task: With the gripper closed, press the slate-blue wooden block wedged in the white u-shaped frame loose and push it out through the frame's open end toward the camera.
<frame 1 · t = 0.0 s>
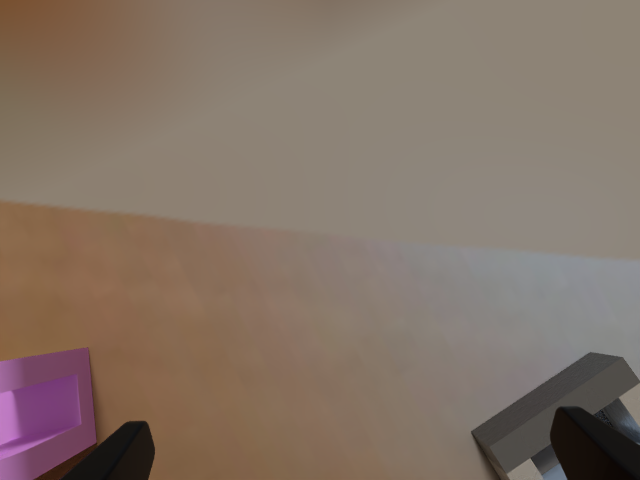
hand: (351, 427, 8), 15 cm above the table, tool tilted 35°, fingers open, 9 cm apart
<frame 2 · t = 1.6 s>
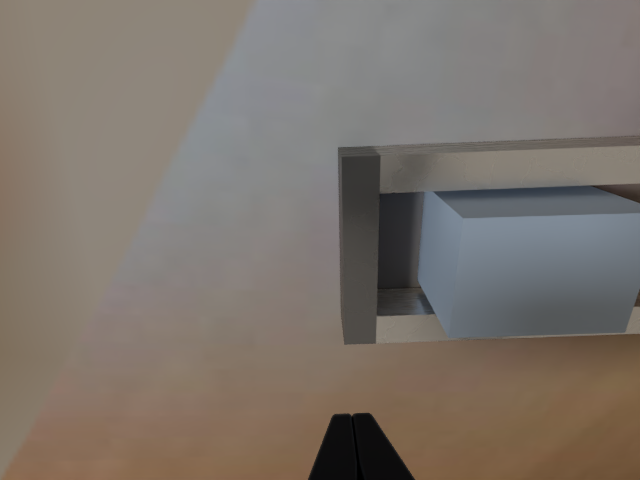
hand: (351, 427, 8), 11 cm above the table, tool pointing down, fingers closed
white u-shaped frame: (512, 232, 18), on the table
jammed block: (490, 231, 18), on the table
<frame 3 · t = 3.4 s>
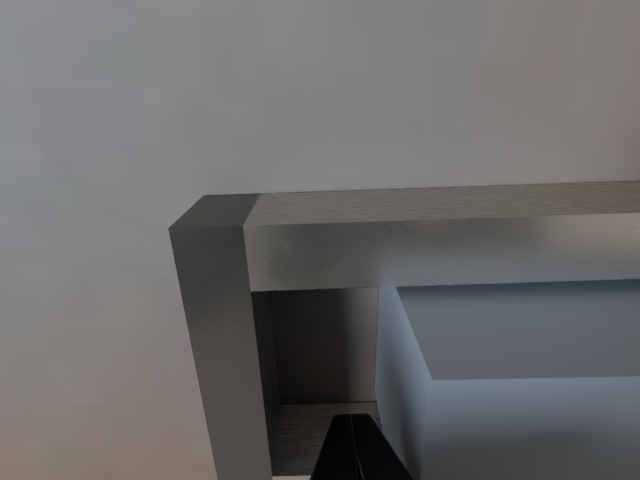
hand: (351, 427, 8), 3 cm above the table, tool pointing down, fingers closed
white u-shaped frame: (502, 325, 11), on the table
jammed block: (492, 324, 11), on the table, touching gripper
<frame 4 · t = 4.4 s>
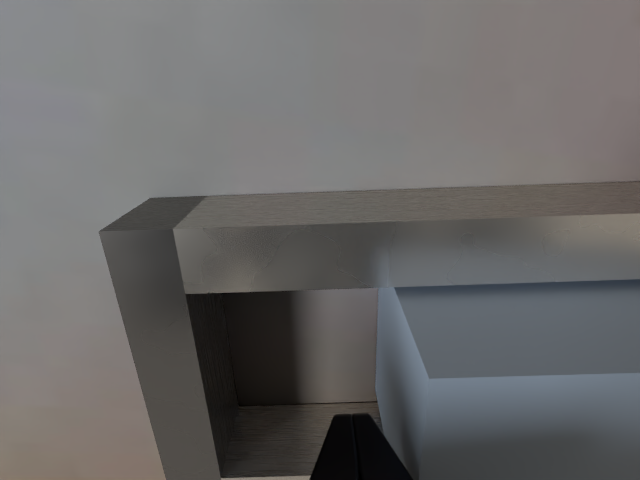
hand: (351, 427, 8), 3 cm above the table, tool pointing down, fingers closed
white u-shaped frame: (455, 327, 11), on the table
jammed block: (492, 322, 11), on the table, touching gripper
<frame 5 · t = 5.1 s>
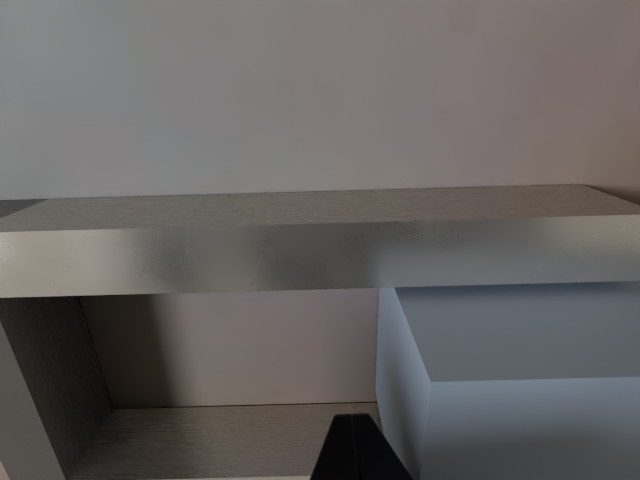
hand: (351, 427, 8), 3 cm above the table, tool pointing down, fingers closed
white u-shaped frame: (318, 331, 11), on the table
jammed block: (492, 324, 11), on the table, touching gripper
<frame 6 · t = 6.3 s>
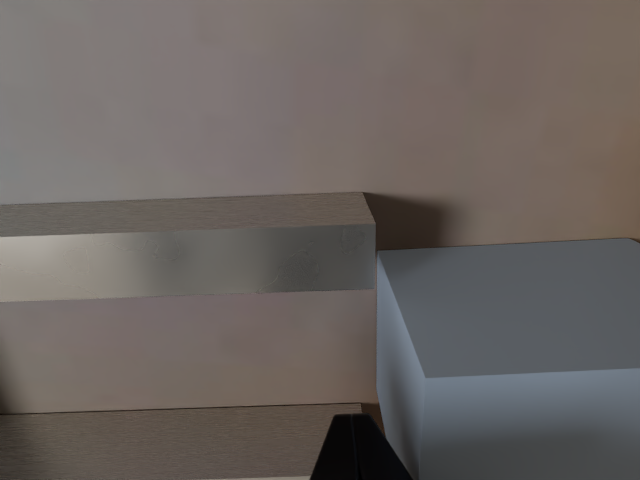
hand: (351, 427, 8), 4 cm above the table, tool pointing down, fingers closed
white u-shaped frame: (134, 339, 12), on the table
jammed block: (491, 320, 11), on the table, touching gripper
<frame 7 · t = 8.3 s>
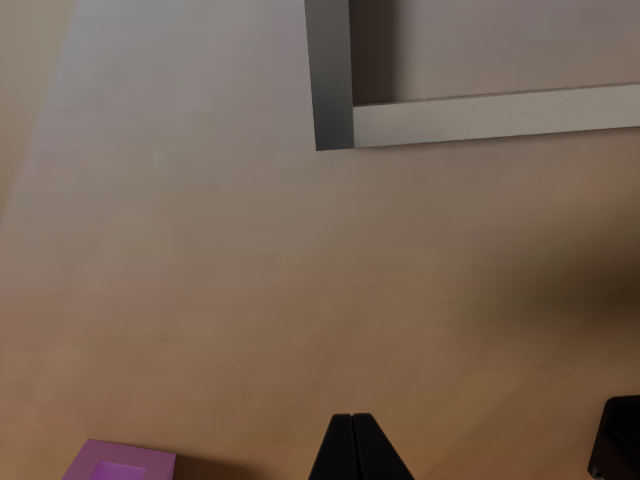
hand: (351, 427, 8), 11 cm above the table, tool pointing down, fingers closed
white u-shaped frame: (516, 15, 15), on the table
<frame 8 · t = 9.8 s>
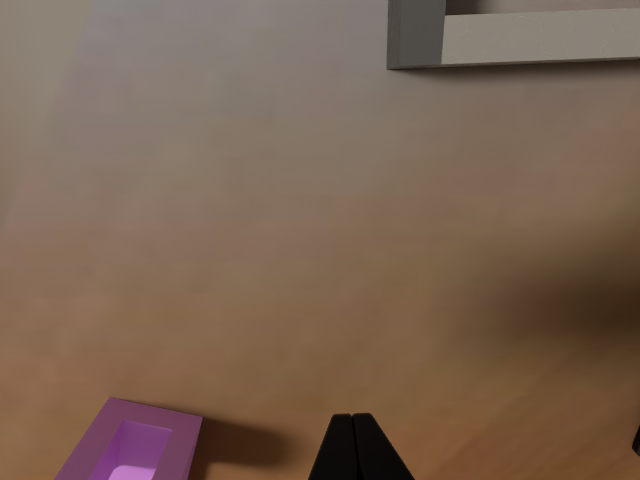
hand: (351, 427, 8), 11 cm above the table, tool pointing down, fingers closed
bracket: (145, 474, 25), on the table
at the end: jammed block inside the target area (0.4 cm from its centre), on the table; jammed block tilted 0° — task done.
